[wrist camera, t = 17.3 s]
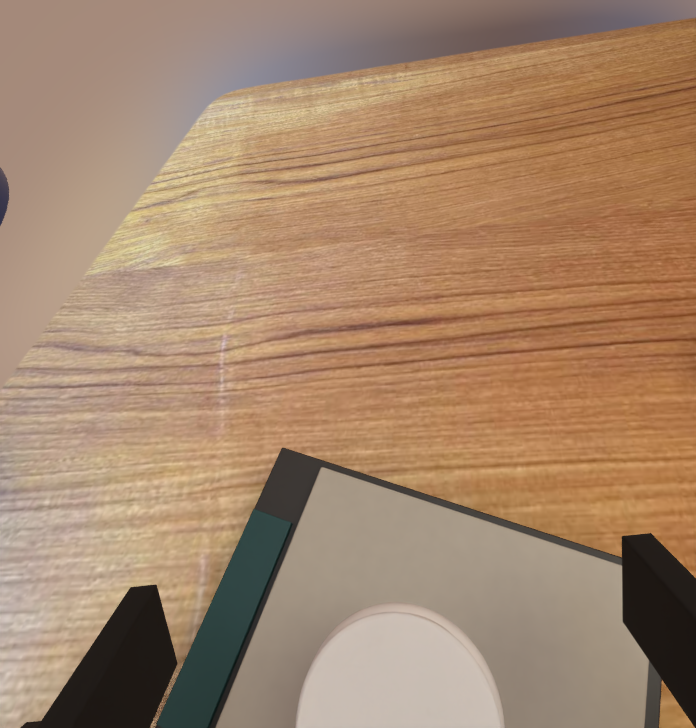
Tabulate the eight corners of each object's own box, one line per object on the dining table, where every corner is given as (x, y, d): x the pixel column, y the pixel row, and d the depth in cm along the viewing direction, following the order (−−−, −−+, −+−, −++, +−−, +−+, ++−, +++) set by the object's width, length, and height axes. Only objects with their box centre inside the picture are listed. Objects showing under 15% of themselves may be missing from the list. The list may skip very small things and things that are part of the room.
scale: (144, 807, 18) (97, 833, 16) (293, 464, 25) (277, 440, 22) (603, 1083, 14) (648, 1185, 11) (643, 581, 20) (678, 569, 18)
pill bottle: (310, 665, 17) (235, 669, 10) (423, 590, 18) (428, 544, 11) (381, 825, 15) (350, 977, 8) (508, 731, 16) (585, 789, 9)
